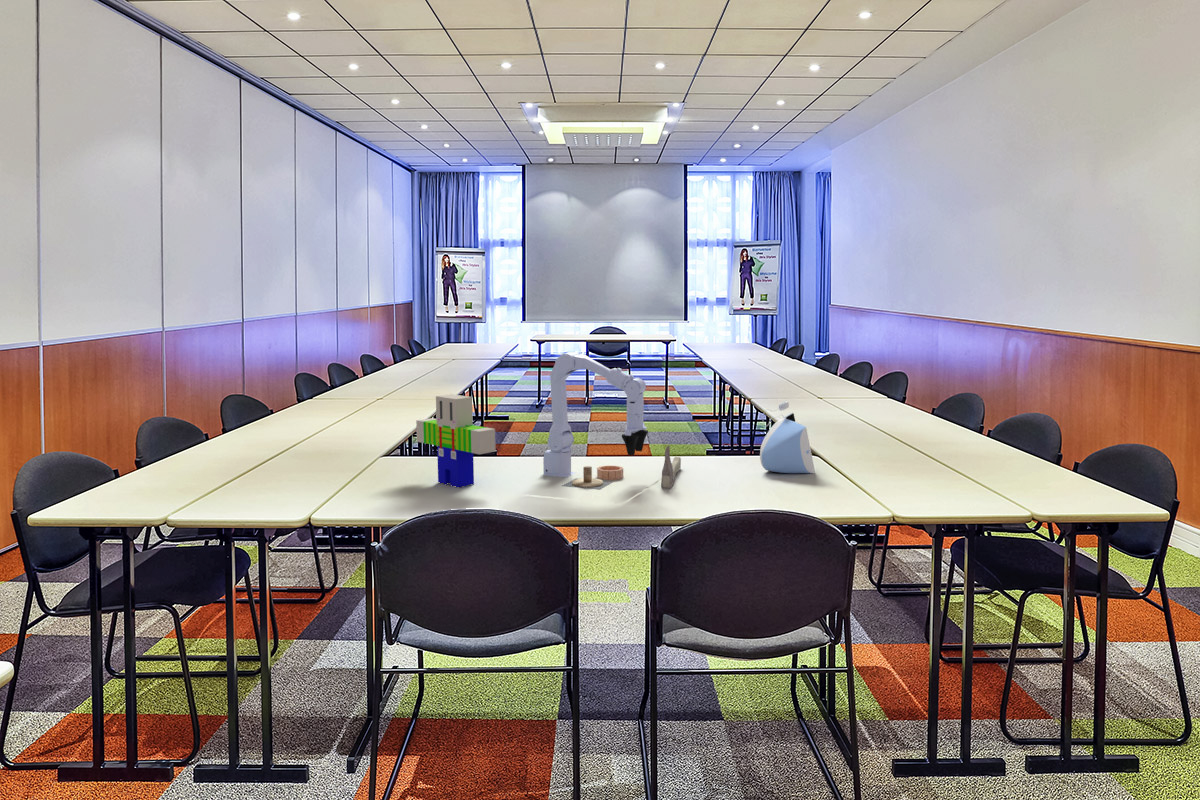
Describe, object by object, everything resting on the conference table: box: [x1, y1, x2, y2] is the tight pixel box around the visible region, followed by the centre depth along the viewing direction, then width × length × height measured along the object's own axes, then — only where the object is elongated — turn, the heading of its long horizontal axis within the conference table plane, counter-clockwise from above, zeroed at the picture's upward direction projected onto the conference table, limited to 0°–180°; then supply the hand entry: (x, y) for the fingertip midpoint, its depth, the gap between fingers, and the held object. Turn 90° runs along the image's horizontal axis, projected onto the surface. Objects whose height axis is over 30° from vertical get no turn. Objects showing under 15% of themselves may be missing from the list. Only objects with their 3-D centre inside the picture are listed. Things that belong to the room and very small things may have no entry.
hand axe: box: [660, 444, 682, 490], centre depth 314 cm, size 35×3×14 cm, turn 168°
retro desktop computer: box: [759, 400, 816, 474], centre depth 326 cm, size 25×23×17 cm
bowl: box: [596, 465, 624, 481], centre depth 315 cm, size 9×9×4 cm
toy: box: [415, 393, 496, 488], centre depth 306 cm, size 34×7×30 cm, turn 47°
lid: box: [571, 465, 604, 488], centre depth 304 cm, size 10×10×6 cm
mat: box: [561, 478, 614, 490], centre depth 305 cm, size 14×12×1 cm
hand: (634, 453), depth 309 cm, fingers open, 7 cm apart
